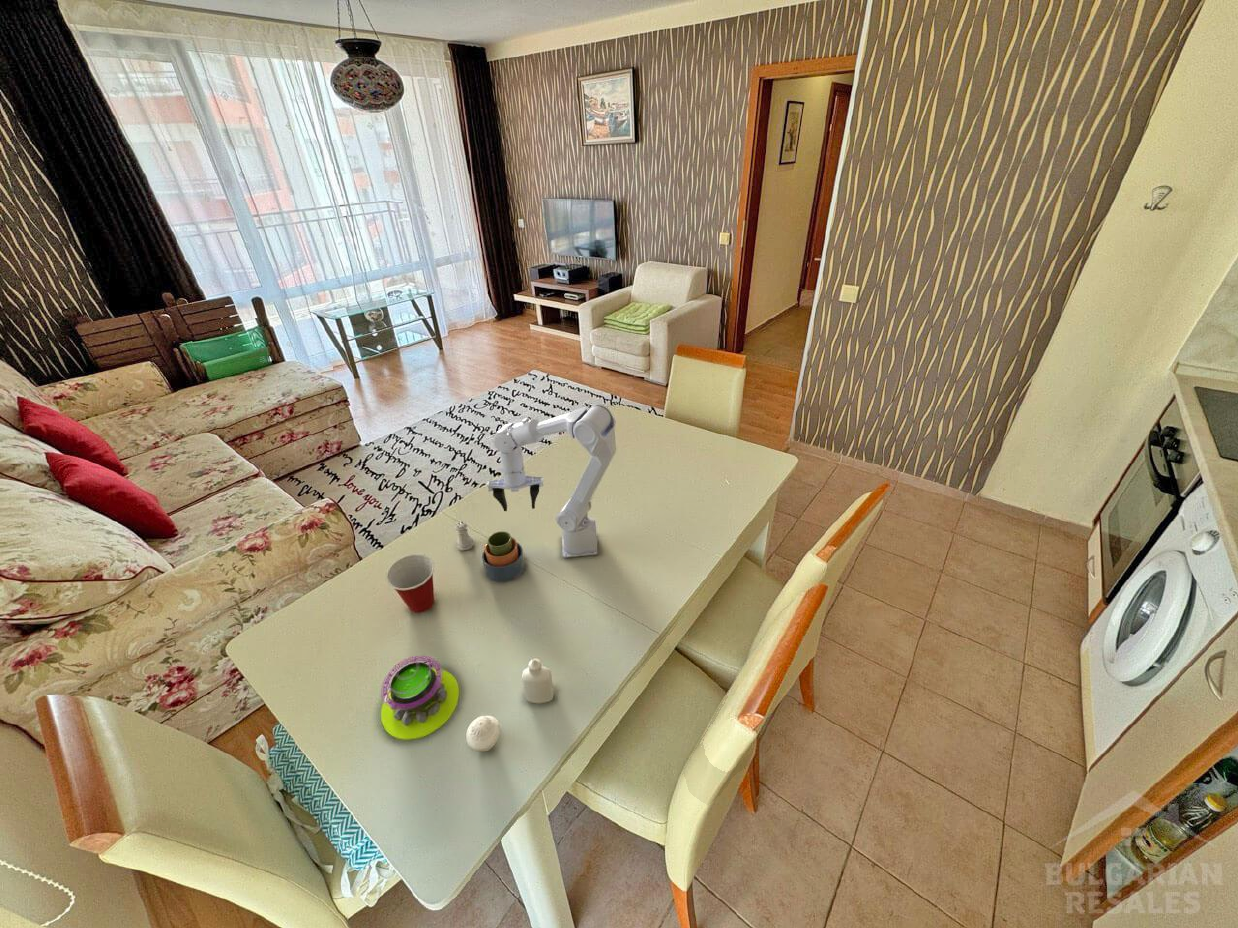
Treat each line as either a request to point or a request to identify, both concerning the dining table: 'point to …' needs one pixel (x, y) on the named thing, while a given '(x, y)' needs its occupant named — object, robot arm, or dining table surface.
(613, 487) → the dining table surface
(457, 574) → the dining table surface
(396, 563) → the plastic cup
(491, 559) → the stack mid
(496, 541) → the olive cup
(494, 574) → the stack big
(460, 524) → the rook chess piece
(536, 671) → the eye dropper bottle
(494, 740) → the white rounded egg shape
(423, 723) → the toy cauldron
